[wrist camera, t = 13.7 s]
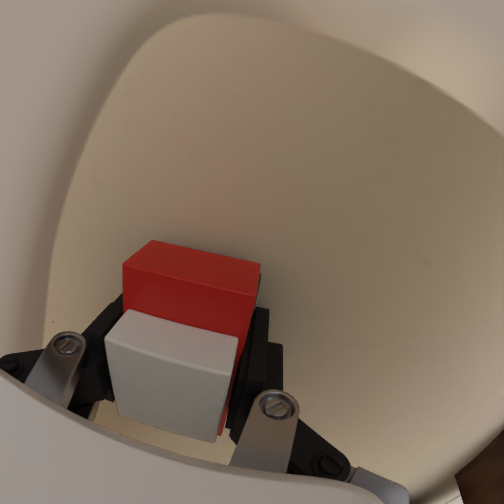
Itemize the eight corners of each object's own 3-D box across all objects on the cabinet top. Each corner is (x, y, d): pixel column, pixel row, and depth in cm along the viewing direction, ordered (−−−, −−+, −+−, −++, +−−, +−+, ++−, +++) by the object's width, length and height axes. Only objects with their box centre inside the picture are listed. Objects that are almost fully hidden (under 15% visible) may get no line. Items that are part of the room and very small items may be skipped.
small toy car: (158, 232, 10) (88, 287, 6) (264, 255, 10) (256, 333, 6) (153, 367, 12) (118, 438, 8) (232, 387, 12) (217, 468, 8)
